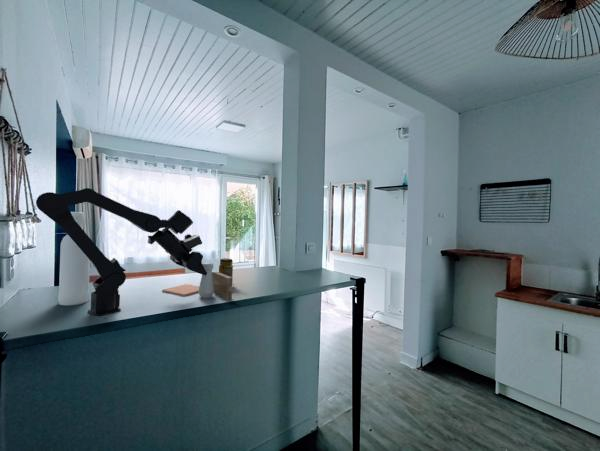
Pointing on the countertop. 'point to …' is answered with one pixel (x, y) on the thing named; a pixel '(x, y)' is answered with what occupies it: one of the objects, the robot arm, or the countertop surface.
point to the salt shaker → (207, 282)
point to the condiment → (226, 267)
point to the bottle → (73, 270)
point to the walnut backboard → (222, 285)
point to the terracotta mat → (182, 290)
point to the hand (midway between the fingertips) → (201, 272)
